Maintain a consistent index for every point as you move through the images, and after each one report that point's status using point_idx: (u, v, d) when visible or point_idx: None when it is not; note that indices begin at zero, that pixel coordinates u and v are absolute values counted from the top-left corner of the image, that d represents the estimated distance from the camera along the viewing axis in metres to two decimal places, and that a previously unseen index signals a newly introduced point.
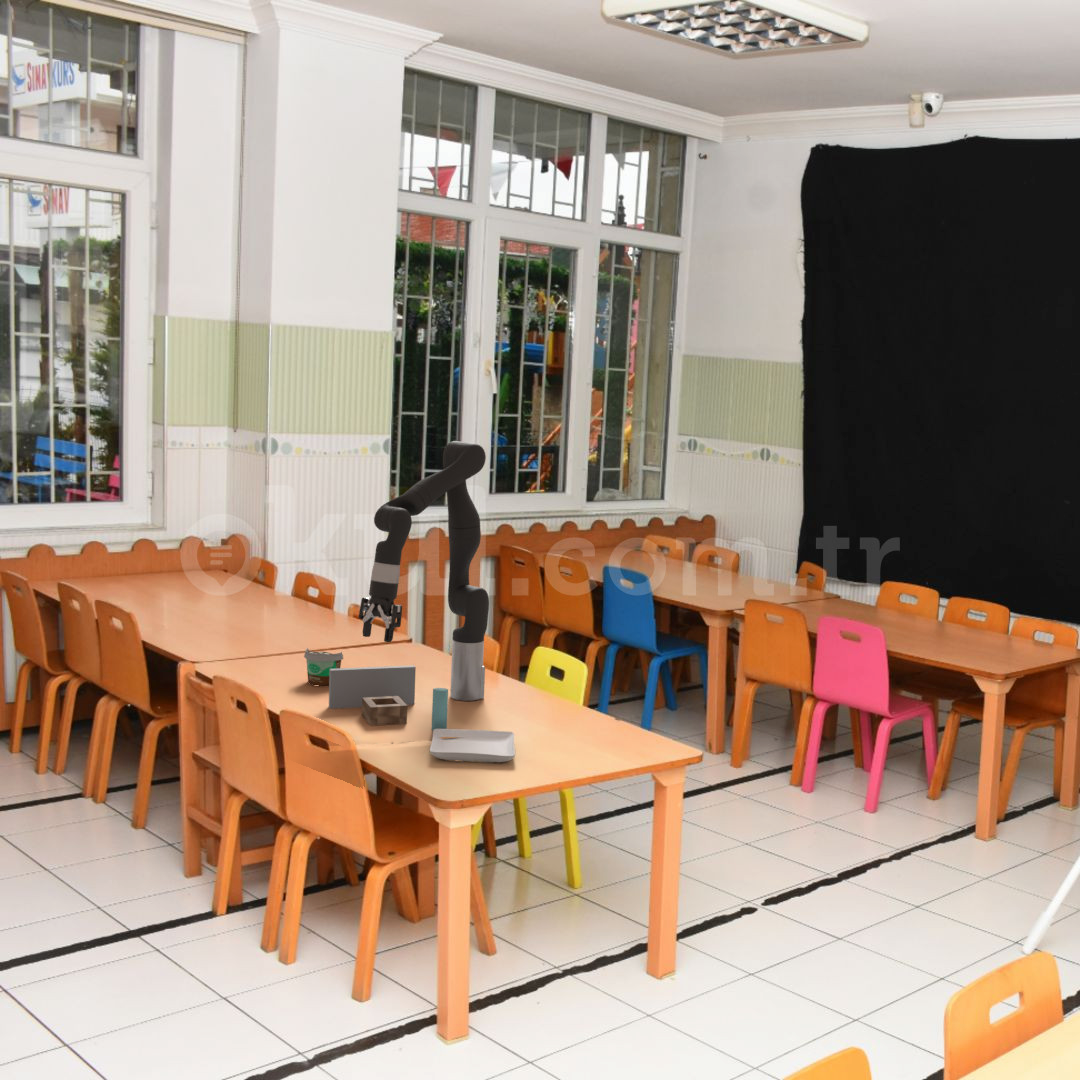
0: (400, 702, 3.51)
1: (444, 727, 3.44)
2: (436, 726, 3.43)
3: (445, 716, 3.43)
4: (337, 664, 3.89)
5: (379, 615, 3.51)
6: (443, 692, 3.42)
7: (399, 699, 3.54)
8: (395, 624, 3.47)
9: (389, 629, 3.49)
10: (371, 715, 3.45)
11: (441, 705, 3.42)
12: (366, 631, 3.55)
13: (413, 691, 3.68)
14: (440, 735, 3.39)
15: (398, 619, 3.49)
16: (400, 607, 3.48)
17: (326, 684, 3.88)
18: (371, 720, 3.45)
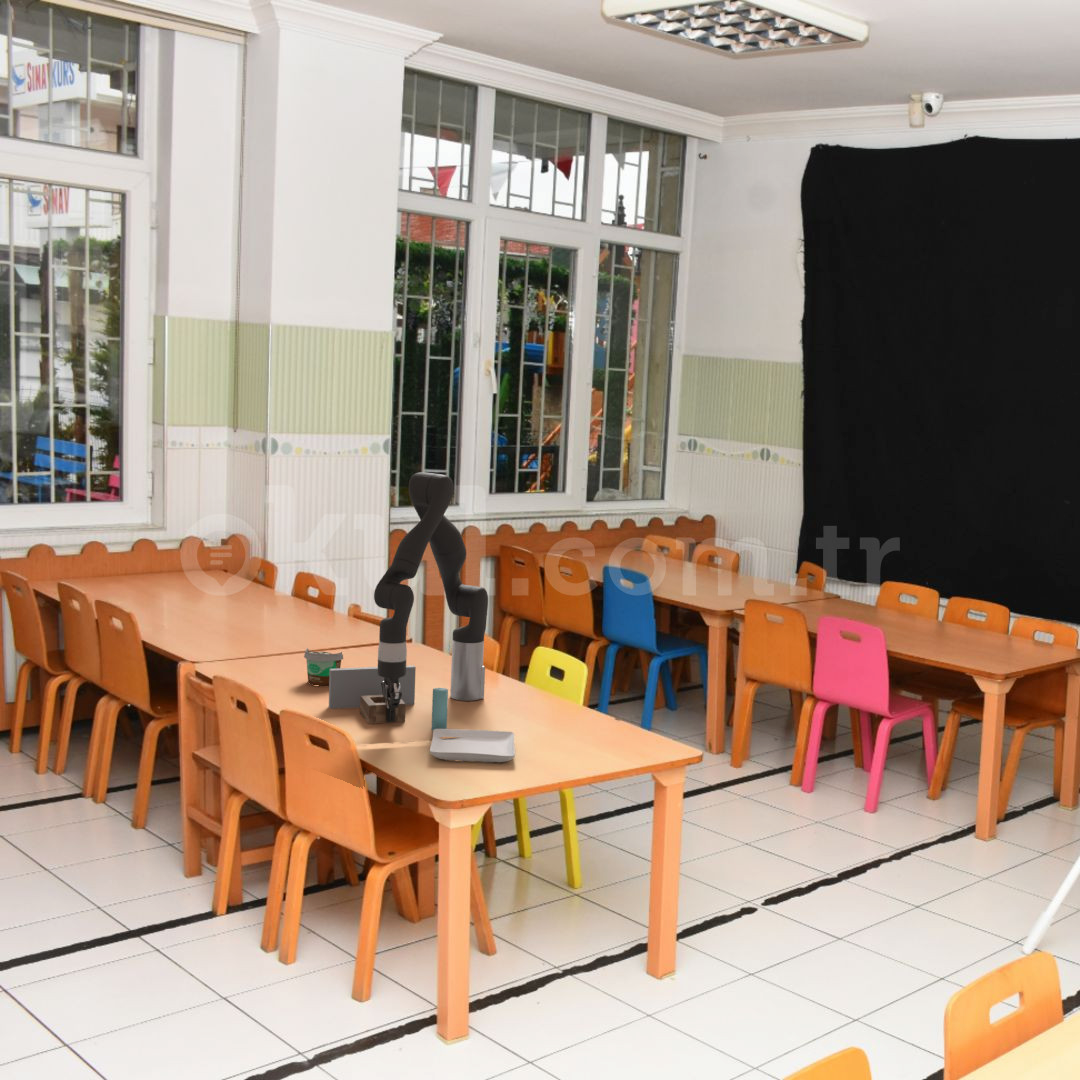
0: None
1: (444, 727, 3.44)
2: (436, 726, 3.43)
3: (445, 716, 3.43)
4: (337, 664, 3.89)
5: None
6: (443, 692, 3.42)
7: None
8: (391, 707, 3.43)
9: (389, 709, 3.45)
10: (369, 713, 3.47)
11: (441, 705, 3.42)
12: None
13: (413, 691, 3.68)
14: (440, 735, 3.39)
15: None
16: (399, 696, 3.40)
17: (326, 684, 3.88)
18: (369, 718, 3.47)
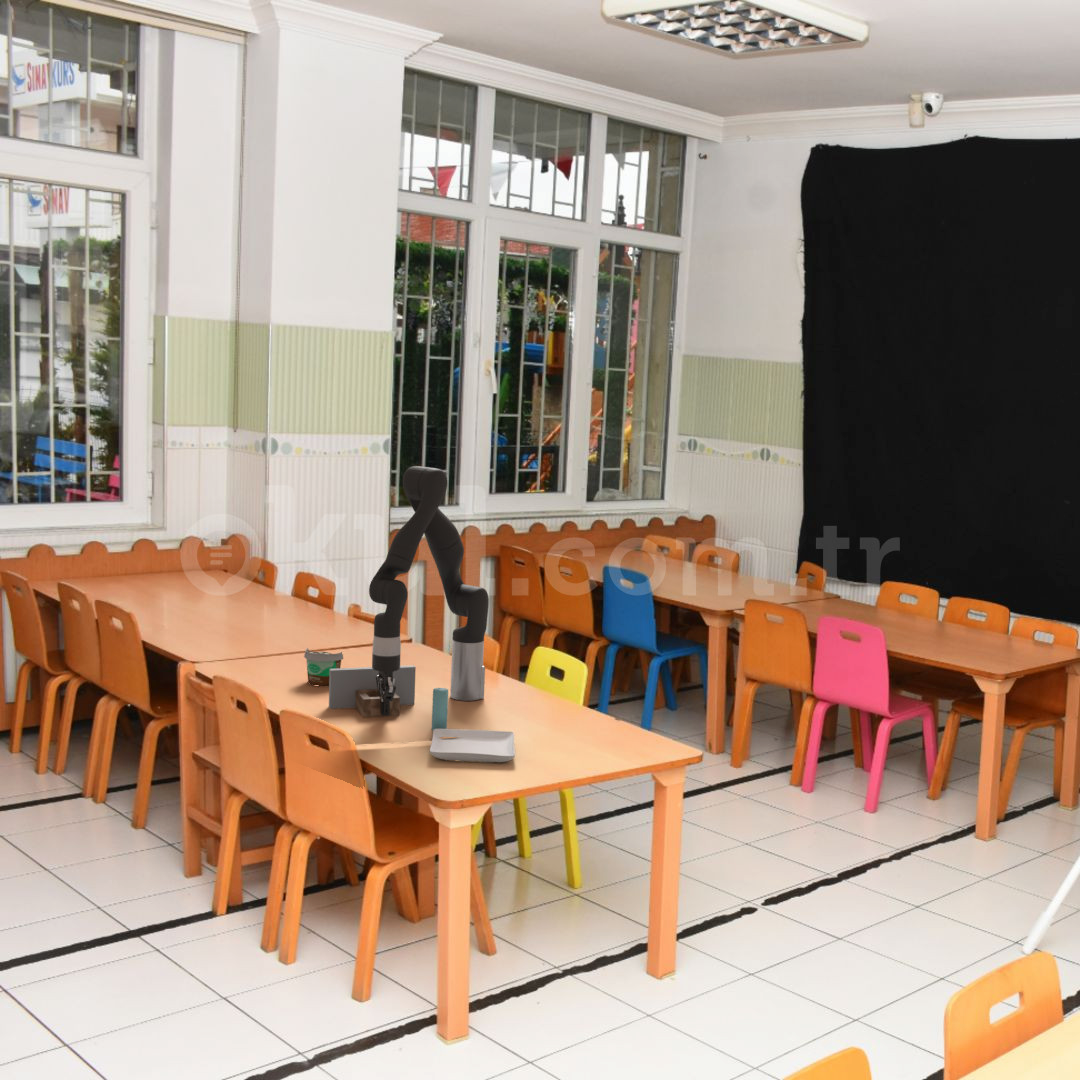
0: None
1: (444, 727, 3.44)
2: (436, 726, 3.43)
3: (445, 716, 3.43)
4: (337, 664, 3.89)
5: None
6: (443, 692, 3.42)
7: None
8: (385, 700, 3.48)
9: (383, 703, 3.50)
10: (364, 707, 3.53)
11: (441, 705, 3.42)
12: None
13: (413, 691, 3.68)
14: (440, 735, 3.39)
15: (391, 695, 3.48)
16: (393, 689, 3.46)
17: (326, 684, 3.88)
18: (364, 712, 3.53)
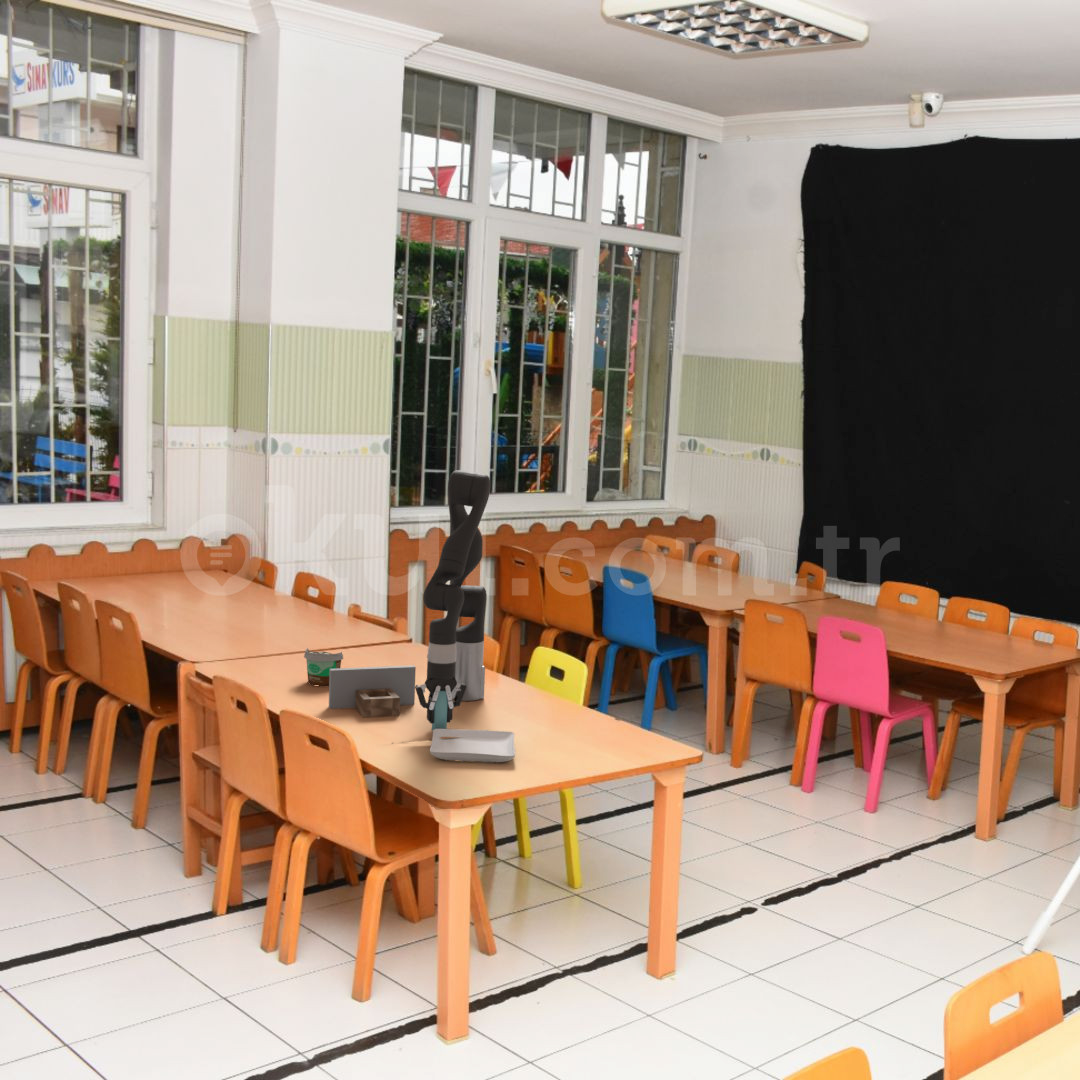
0: (393, 695, 3.58)
1: (444, 727, 3.44)
2: (437, 726, 3.43)
3: (445, 716, 3.43)
4: (337, 664, 3.89)
5: None
6: (443, 692, 3.42)
7: (392, 691, 3.61)
8: (420, 704, 3.43)
9: None
10: (364, 707, 3.53)
11: (441, 705, 3.42)
12: None
13: (413, 691, 3.68)
14: (440, 735, 3.39)
15: None
16: (417, 689, 3.41)
17: (326, 684, 3.88)
18: (364, 712, 3.53)
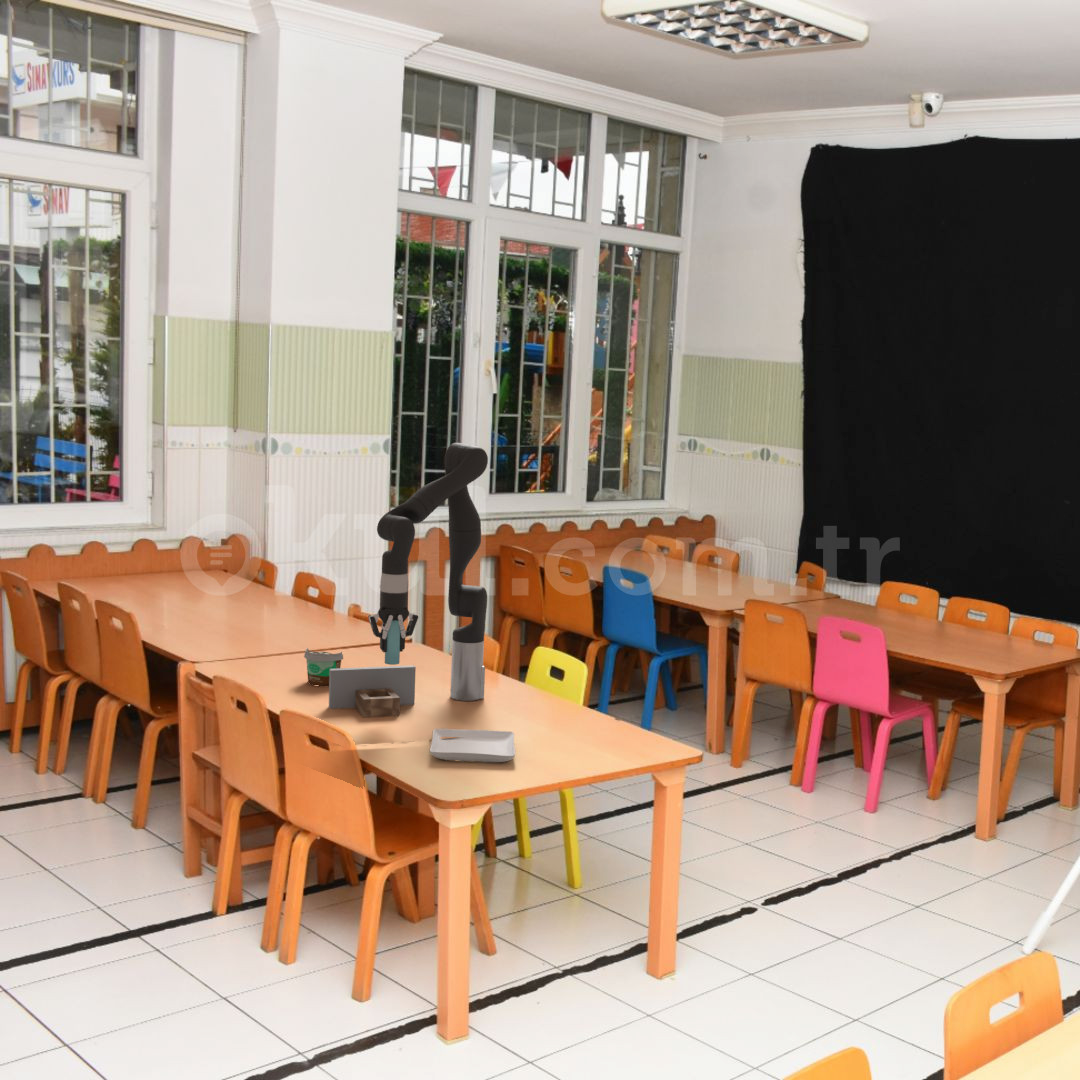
0: (393, 695, 3.58)
1: (397, 656, 3.53)
2: (389, 654, 3.52)
3: (398, 645, 3.52)
4: (337, 664, 3.89)
5: None
6: (396, 621, 3.51)
7: (392, 691, 3.61)
8: (373, 633, 3.52)
9: None
10: (364, 707, 3.53)
11: (394, 634, 3.51)
12: None
13: (413, 691, 3.68)
14: (440, 735, 3.39)
15: None
16: (370, 619, 3.49)
17: (326, 684, 3.88)
18: (364, 712, 3.53)
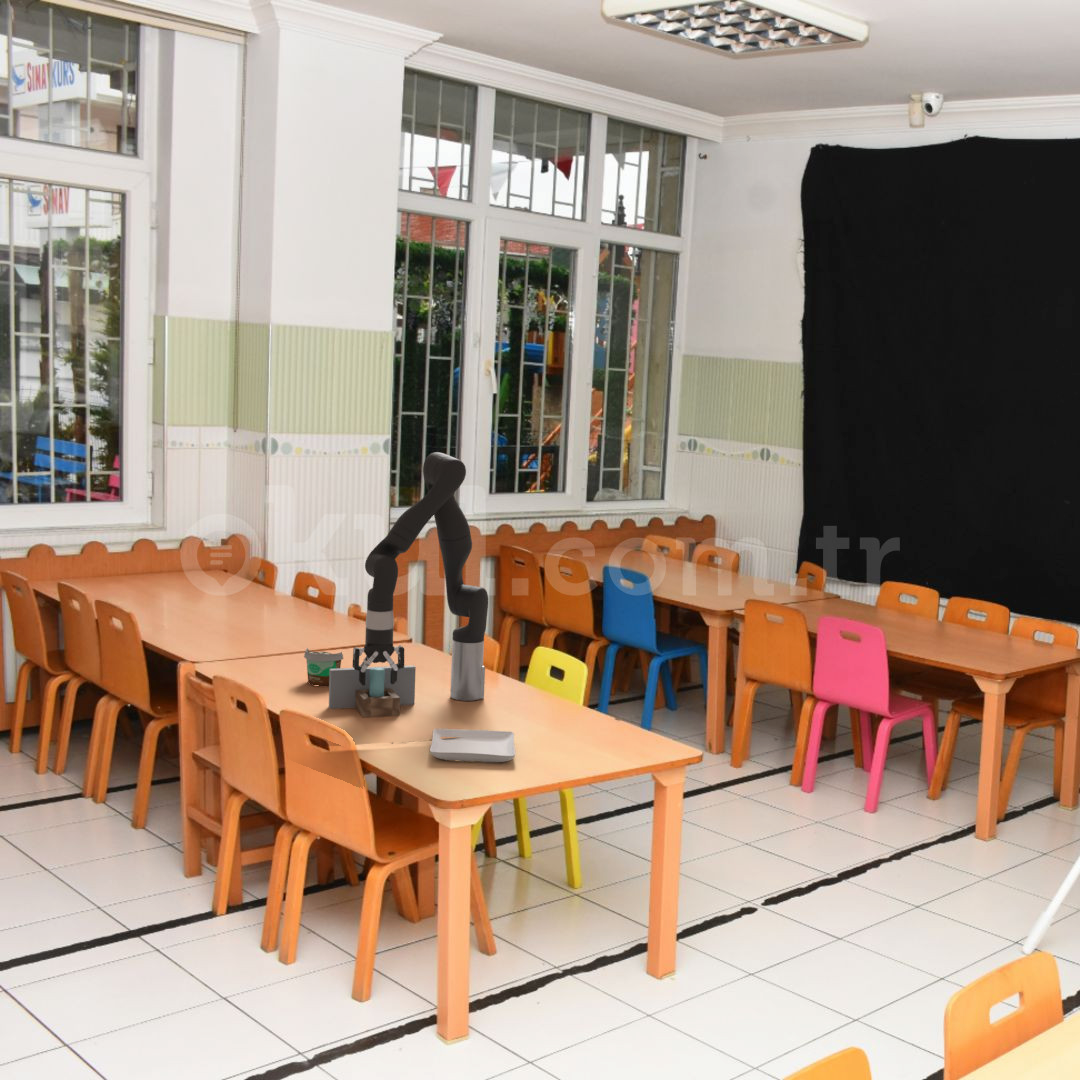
0: (393, 695, 3.58)
1: None
2: None
3: (382, 695, 3.58)
4: (337, 664, 3.89)
5: None
6: (379, 671, 3.56)
7: (392, 691, 3.61)
8: (353, 665, 3.56)
9: None
10: (364, 707, 3.53)
11: (377, 684, 3.56)
12: (390, 677, 3.60)
13: (413, 691, 3.68)
14: (440, 735, 3.39)
15: None
16: (354, 650, 3.54)
17: (326, 684, 3.88)
18: (364, 712, 3.53)
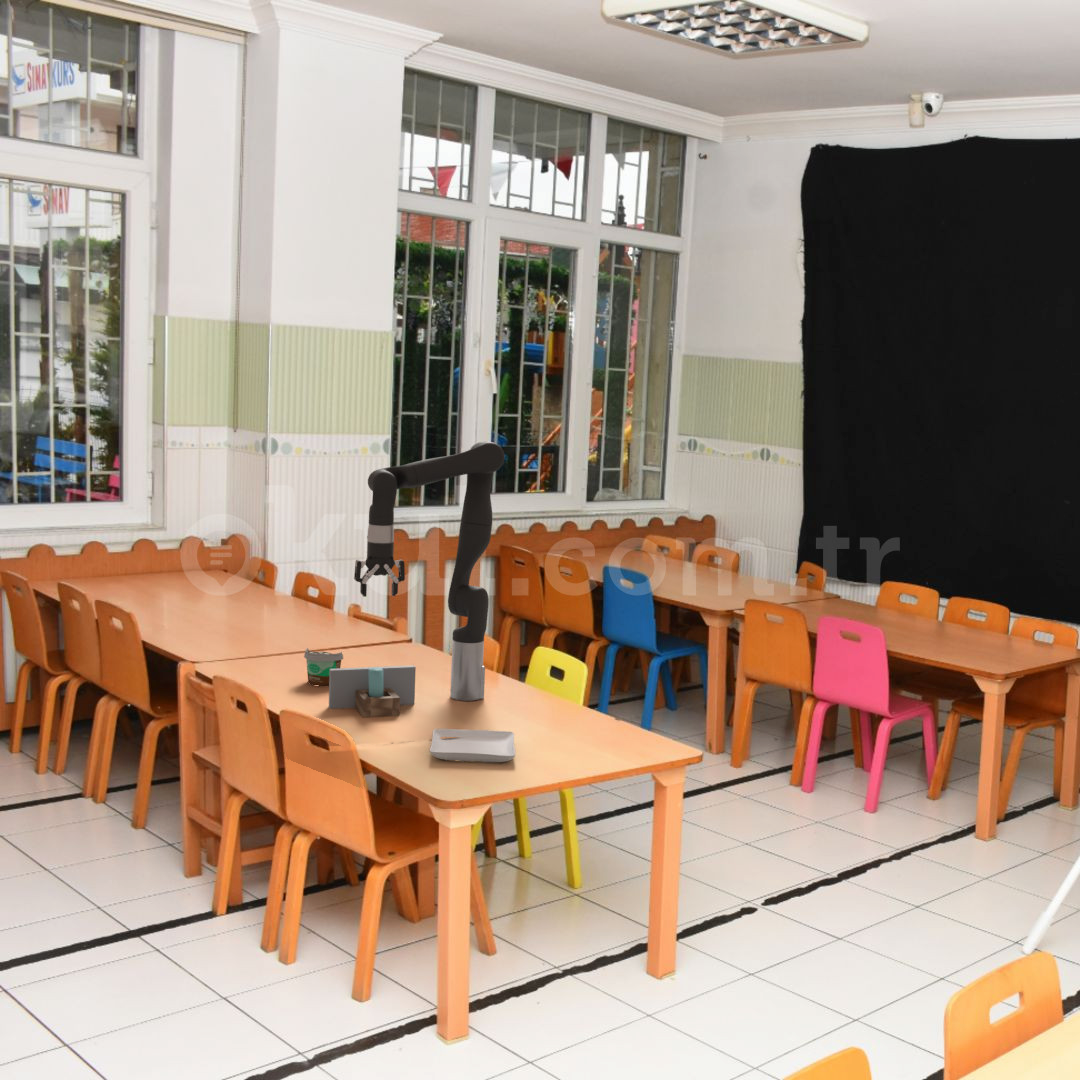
0: (393, 695, 3.58)
1: None
2: None
3: (381, 695, 3.57)
4: (337, 664, 3.89)
5: None
6: (378, 672, 3.56)
7: (392, 691, 3.61)
8: (354, 577, 3.71)
9: None
10: (364, 707, 3.53)
11: (376, 685, 3.56)
12: (392, 590, 3.75)
13: (413, 691, 3.68)
14: (440, 735, 3.39)
15: None
16: (356, 562, 3.69)
17: (326, 684, 3.88)
18: (364, 712, 3.53)
